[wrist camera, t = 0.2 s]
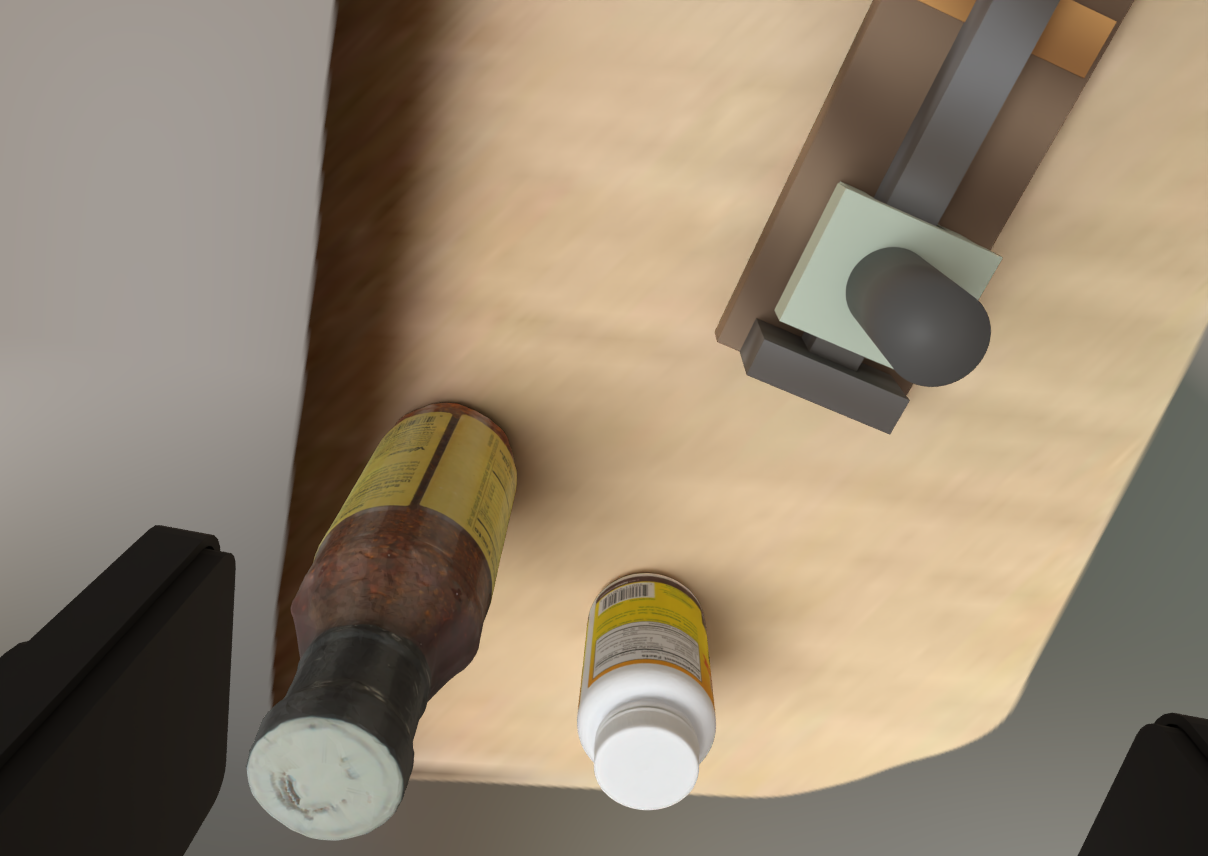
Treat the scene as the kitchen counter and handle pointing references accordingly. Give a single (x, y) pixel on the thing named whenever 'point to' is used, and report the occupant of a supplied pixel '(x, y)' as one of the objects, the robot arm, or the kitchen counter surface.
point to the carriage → (892, 289)
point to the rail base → (875, 137)
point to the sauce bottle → (386, 621)
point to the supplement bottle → (646, 691)
